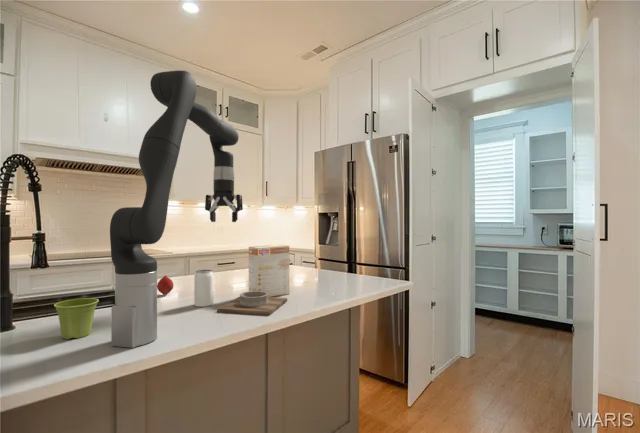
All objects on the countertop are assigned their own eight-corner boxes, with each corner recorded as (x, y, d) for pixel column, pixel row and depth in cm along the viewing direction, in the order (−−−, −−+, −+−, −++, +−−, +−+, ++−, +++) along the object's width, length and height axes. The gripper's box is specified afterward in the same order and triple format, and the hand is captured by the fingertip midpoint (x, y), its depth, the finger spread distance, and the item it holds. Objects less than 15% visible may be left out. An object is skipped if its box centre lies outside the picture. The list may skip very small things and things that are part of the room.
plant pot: (83, 327, 93) (83, 296, 93) (106, 331, 89) (106, 299, 89) (45, 339, 84) (45, 304, 84) (69, 344, 81) (69, 308, 81)
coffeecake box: (281, 290, 139) (281, 244, 139) (290, 294, 133) (290, 245, 133) (247, 295, 130) (247, 246, 130) (255, 299, 124) (255, 247, 124)
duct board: (269, 315, 104) (269, 302, 104) (217, 312, 108) (217, 299, 108) (287, 301, 122) (287, 289, 122) (241, 298, 125) (241, 287, 125)
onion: (153, 296, 129) (153, 275, 129) (164, 293, 135) (164, 273, 135) (166, 297, 127) (166, 276, 127) (176, 294, 133) (176, 274, 133)
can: (216, 302, 119) (216, 269, 119) (209, 307, 113) (209, 272, 113) (199, 302, 120) (199, 269, 120) (190, 307, 114) (190, 272, 114)
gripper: (201, 178, 124) (201, 222, 124) (237, 178, 122) (237, 222, 122) (211, 181, 132) (211, 221, 132) (245, 180, 129) (245, 221, 129)
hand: (223, 221), depth 127 cm, fingers open, 8 cm apart
